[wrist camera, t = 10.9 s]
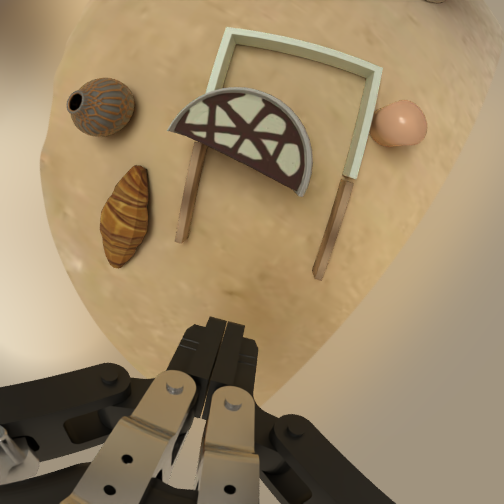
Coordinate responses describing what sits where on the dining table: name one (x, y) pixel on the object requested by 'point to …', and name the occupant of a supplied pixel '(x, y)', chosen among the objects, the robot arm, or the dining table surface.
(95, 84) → the vase
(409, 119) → the tan rounded piece
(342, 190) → the brown flat strips
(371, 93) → the bay
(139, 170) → the croissant
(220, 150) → the food container
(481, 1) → the dining table surface
